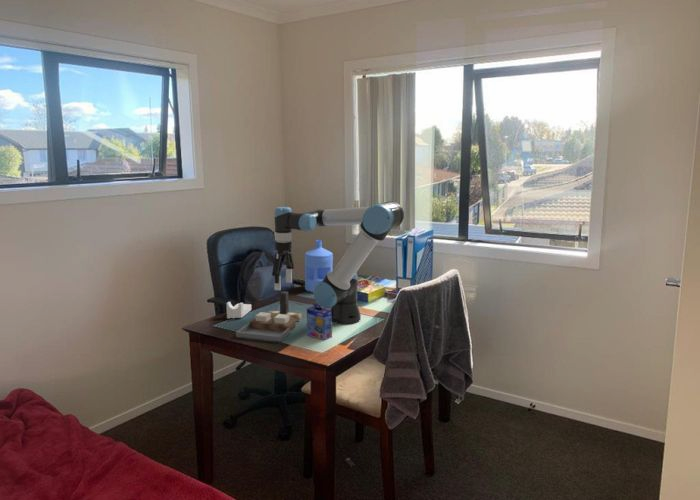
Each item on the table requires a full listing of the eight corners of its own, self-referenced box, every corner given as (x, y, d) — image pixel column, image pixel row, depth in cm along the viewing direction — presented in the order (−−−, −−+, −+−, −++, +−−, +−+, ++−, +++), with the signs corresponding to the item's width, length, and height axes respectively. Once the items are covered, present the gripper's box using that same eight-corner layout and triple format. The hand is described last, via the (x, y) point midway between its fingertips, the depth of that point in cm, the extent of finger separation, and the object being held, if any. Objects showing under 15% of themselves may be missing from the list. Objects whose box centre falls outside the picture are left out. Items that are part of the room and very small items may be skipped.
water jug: (309, 285, 311) (309, 237, 305) (335, 286, 307) (336, 238, 302) (301, 292, 296) (300, 242, 290) (328, 294, 292) (328, 243, 287)
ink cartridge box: (306, 335, 230) (305, 303, 227) (314, 332, 234) (314, 300, 231) (324, 340, 224) (324, 307, 221) (332, 336, 229) (332, 304, 226)
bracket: (241, 319, 250) (240, 304, 248) (227, 318, 251) (226, 303, 250) (251, 311, 262) (251, 296, 261) (237, 310, 264) (237, 295, 262)
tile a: (289, 320, 238) (289, 315, 238) (285, 323, 234) (285, 318, 233) (279, 319, 240) (278, 313, 239) (274, 322, 235) (274, 317, 234)
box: (289, 333, 232) (289, 328, 231) (280, 342, 221) (279, 337, 221) (247, 329, 237) (247, 323, 236) (236, 337, 226) (235, 332, 226)
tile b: (270, 318, 241) (270, 313, 240) (266, 321, 236) (266, 316, 235) (260, 317, 242) (260, 312, 242) (255, 320, 237) (255, 315, 237)
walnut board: (295, 326, 240) (295, 319, 240) (287, 333, 232) (287, 325, 231) (258, 322, 245) (258, 315, 244) (249, 329, 237) (249, 321, 236)
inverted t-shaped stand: (301, 319, 251) (301, 292, 248) (299, 321, 248) (299, 294, 245) (269, 316, 255) (269, 290, 252) (267, 318, 252) (266, 291, 249)
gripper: (285, 235, 257) (286, 278, 261) (264, 245, 233) (264, 292, 237) (300, 237, 255) (300, 280, 259) (280, 246, 231) (280, 294, 236)
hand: (283, 286), depth 248 cm, fingers open, 13 cm apart
